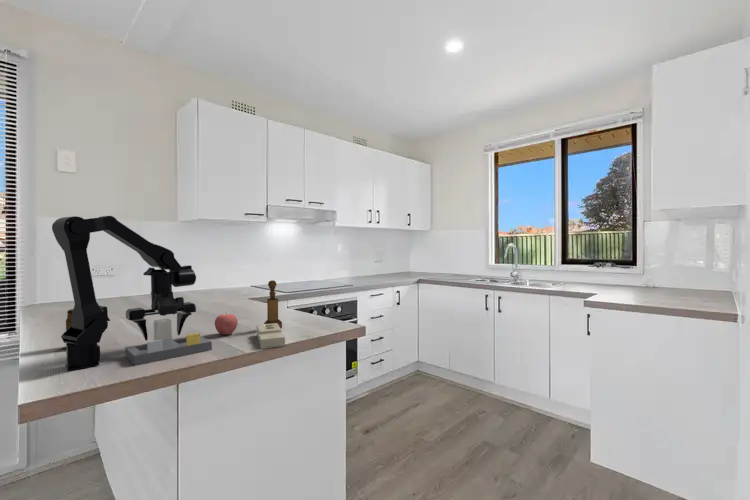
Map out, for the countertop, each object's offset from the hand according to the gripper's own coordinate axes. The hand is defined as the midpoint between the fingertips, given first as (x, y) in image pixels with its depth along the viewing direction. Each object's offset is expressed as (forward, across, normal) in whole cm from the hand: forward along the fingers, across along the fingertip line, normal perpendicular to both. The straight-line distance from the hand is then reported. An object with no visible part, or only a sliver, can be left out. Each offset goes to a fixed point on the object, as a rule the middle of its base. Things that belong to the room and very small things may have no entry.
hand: (162, 337), depth 119 cm
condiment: (+3, -20, +18) cm, 27 cm away
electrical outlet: (+3, +27, -19) cm, 33 cm away
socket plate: (+2, -1, -10) cm, 11 cm away
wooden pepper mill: (+3, +36, -4) cm, 36 cm away
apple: (+3, +20, 0) cm, 20 cm away
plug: (+2, 0, 0) cm, 2 cm away
